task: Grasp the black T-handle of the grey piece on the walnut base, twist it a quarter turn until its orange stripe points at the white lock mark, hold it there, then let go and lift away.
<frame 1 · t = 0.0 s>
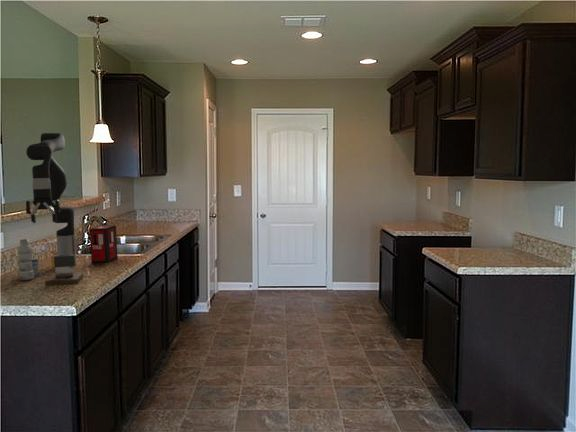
hand: (44, 222, 232), 29 cm above the countertop, fingers open, 8 cm apart
cleaning product box: (104, 261, 291), on the countertop
coupling base: (64, 281, 240), on the countertop
medicine box: (29, 277, 251), on the countertop
grey piece: (63, 265, 239), point 8 cm above the countertop, hinge at 0.0°
plastic bottle: (26, 280, 243), on the countertop
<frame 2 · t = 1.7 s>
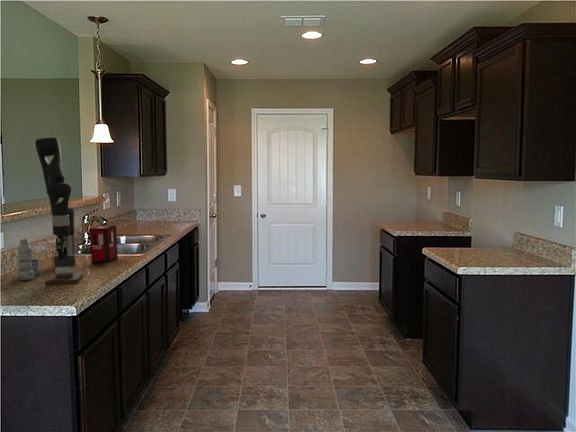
hand: (63, 258, 238), 11 cm above the countertop, fingers open, 8 cm apart
nothing on the countertop moved.
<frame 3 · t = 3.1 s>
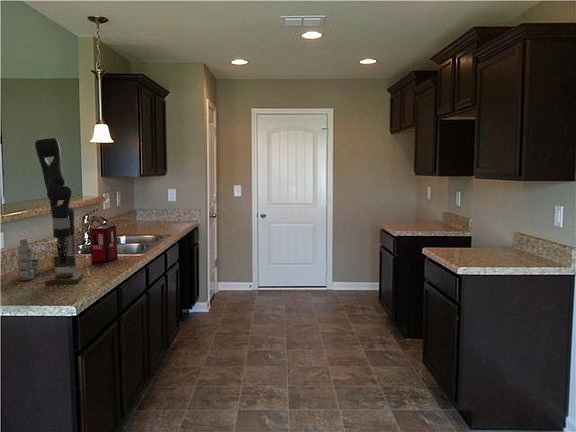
hand: (63, 262, 239), 9 cm above the countertop, fingers closed on grey piece, 3 cm apart
grey piece: (63, 265, 239), point 8 cm above the countertop, hinge at 0.0°, touching gripper
everything else where it was.
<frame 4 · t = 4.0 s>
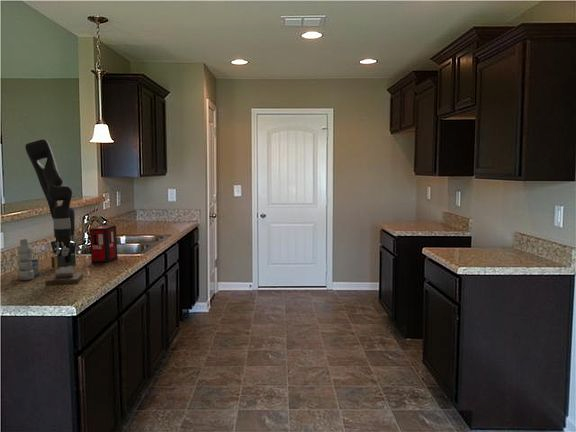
hand: (64, 262, 239), 9 cm above the countertop, fingers closed on grey piece, 4 cm apart
grey piece: (63, 265, 239), point 8 cm above the countertop, hinge at 35.5°, touching gripper
everything else where it was.
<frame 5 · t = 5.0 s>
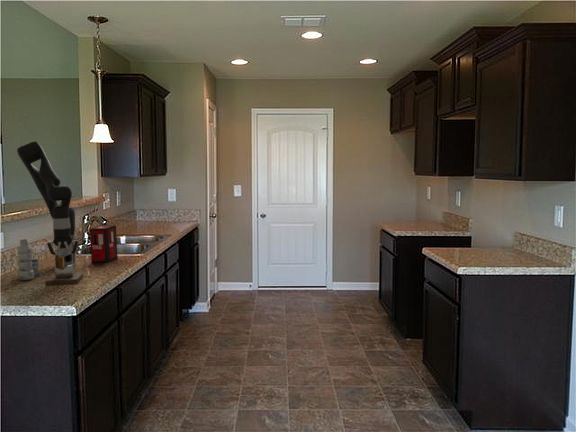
hand: (64, 262, 239), 9 cm above the countertop, fingers closed on grey piece, 4 cm apart
grey piece: (63, 265, 239), point 8 cm above the countertop, hinge at 78.5°, touching gripper
everything else where it was.
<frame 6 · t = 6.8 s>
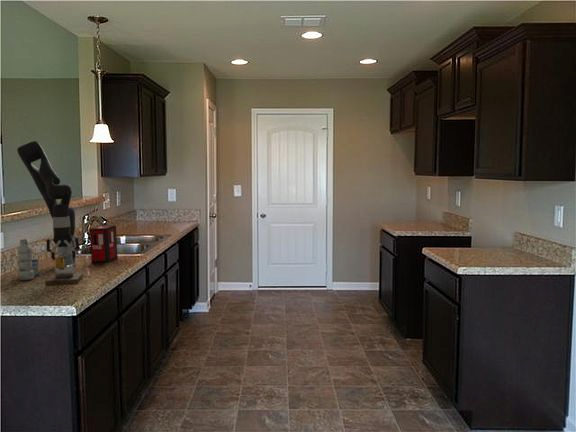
hand: (63, 259, 239), 11 cm above the countertop, fingers open, 8 cm apart
grey piece: (63, 265, 239), point 8 cm above the countertop, hinge at 79.7°
everything else where it was.
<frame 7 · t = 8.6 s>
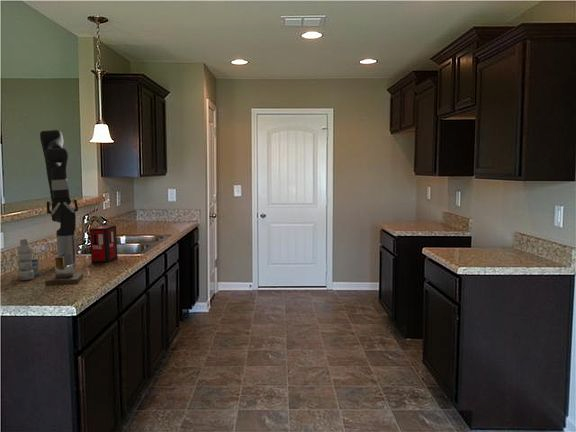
hand: (63, 220, 248), 28 cm above the countertop, fingers open, 8 cm apart
nothing on the countertop moved.
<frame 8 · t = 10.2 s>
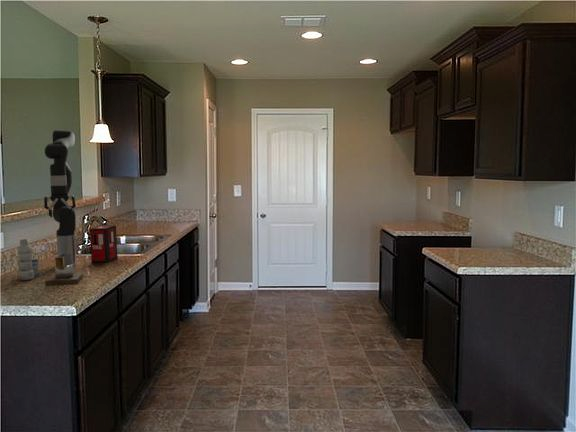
hand: (60, 216, 250), 30 cm above the countertop, fingers open, 8 cm apart
nothing on the countertop moved.
at the end: grey piece at +80° (first picture: +0°); the gripper is holding nothing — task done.
